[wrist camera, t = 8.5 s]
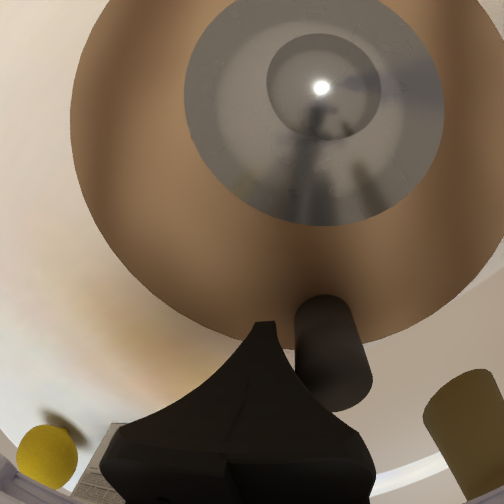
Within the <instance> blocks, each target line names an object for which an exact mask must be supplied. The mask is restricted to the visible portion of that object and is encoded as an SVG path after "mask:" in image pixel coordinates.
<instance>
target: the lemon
mask: <svg viewBox="0 0 504 504" xmlns="http://www.w3.org/2000/svg"><path fill="white" fill-rule="evenodd" d="M16 460H17V465H18V468H19V471H20V472H21V473H22V474H24V475H26V476H28V477H30V478H32V479H34V480H35V481H37V482H39V483H41V484H43V485H45V486H47V487H50V488H52V489H54V490H56V489H59V488H61V487H62V486H63V485H65V484H66V483H67V482H68V481H69V479H70V478H71V477H72V475H73V474H74V472H75V470H76V467H77V463H78V453H77V449H76V446H75V444H74V442H73V440H72V439H71V438H70V436H69V432H68V430H67V429H66V428H57V427H55V426H52V425H39V426H36V427H34V428H32V429H31V430H30V431H28V432H27V433H26V435H25V436H24V437H23V439H22V441H21V442H20V445H19V447H18V450H17V455H16Z"/></svg>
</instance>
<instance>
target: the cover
mask: <svg viewBox="0 0 504 504" xmlns="http://www.w3.org/2000/svg"><path fill="white" fill-rule="evenodd" d="M184 107H185V115H186V120H187V124H188V128H189V131H190V135H191V137H192V139H193V142H194V144H195V146H196V149H197V151H198V152H199V154H200V156H201V157H202V159H203V161H204V162H205V164H206V166H207V167H208V168H209V169H210V171H211V172H212V173H213V174H214V176H215V177H216V178H217V179H218V180H219V181H220V182H221V183H222V184H223V185H224V186H225V187H226V188H227V189H228V190H229V191H230V192H231V193H233V194H234V195H235V196H237V197H238V198H239V199H241V200H242V201H243V202H245V203H246V204H248V205H250V206H252V207H253V208H255V209H257V210H259V211H261V212H263V213H265V214H268V215H270V216H272V217H275V218H278V219H281V220H285V221H288V222H292V223H297V224H303V225H309V226H336V225H345V224H350V223H354V222H359V221H362V220H365V219H368V218H370V217H373V216H376V215H378V214H380V213H382V212H384V211H386V210H387V209H389V208H391V207H393V206H394V205H395V204H397V203H398V202H400V201H401V200H402V199H404V198H405V197H406V196H407V195H408V194H409V193H410V192H411V191H412V190H413V189H414V188H415V187H416V186H417V185H418V184H419V182H420V181H421V180H422V178H423V177H424V176H425V175H426V173H427V171H428V169H429V168H430V166H431V164H432V162H433V160H434V158H435V156H436V153H437V151H438V148H439V145H440V141H441V137H442V133H443V125H444V98H443V92H442V86H441V82H440V79H439V75H438V72H437V69H436V67H435V64H434V62H433V60H432V58H431V56H430V54H429V52H428V50H427V49H426V47H425V45H424V44H423V42H422V41H421V39H420V38H419V37H418V35H417V34H416V33H415V32H414V30H413V29H412V28H411V27H410V26H409V25H408V24H407V23H406V22H405V21H404V20H403V19H402V18H401V17H400V16H399V15H398V14H396V13H395V12H394V11H393V10H391V9H390V8H389V7H387V6H386V5H384V4H383V3H381V2H379V1H378V0H236V1H235V2H233V3H232V4H230V5H229V6H228V7H226V8H225V9H224V10H223V11H222V12H221V13H219V14H218V15H217V16H216V17H215V18H214V20H213V21H212V22H211V23H210V24H209V25H208V26H207V28H206V29H205V31H204V32H203V34H202V35H201V37H200V38H199V40H198V41H197V43H196V46H195V48H194V50H193V52H192V54H191V57H190V60H189V63H188V67H187V70H186V76H185V83H184Z"/></svg>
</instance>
